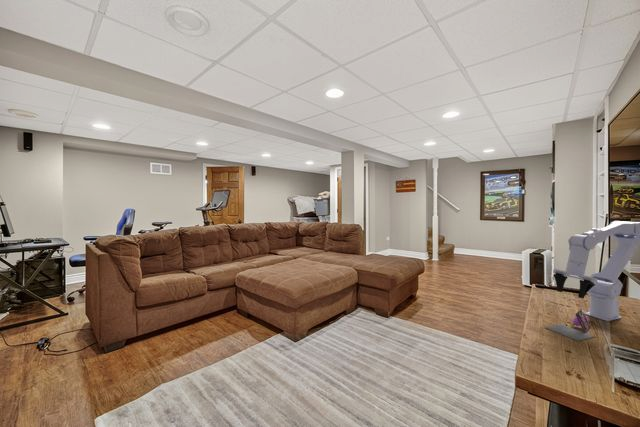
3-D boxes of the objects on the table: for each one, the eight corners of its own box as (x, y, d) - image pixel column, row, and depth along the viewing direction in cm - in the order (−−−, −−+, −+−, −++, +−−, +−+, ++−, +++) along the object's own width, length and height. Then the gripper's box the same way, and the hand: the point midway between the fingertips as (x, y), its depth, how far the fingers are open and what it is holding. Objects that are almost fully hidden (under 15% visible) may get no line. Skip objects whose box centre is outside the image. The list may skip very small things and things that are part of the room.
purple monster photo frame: (579, 313, 103) (584, 309, 108) (562, 314, 107) (568, 310, 112) (587, 332, 101) (592, 326, 106) (570, 333, 105) (576, 327, 110)
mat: (560, 324, 109) (560, 323, 109) (595, 337, 99) (595, 336, 99) (544, 327, 107) (544, 327, 107) (578, 341, 96) (578, 340, 96)
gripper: (551, 257, 118) (544, 287, 118) (592, 265, 104) (584, 299, 104) (562, 260, 120) (555, 290, 120) (604, 268, 107) (596, 302, 106)
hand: (569, 294), depth 112 cm, fingers open, 7 cm apart
